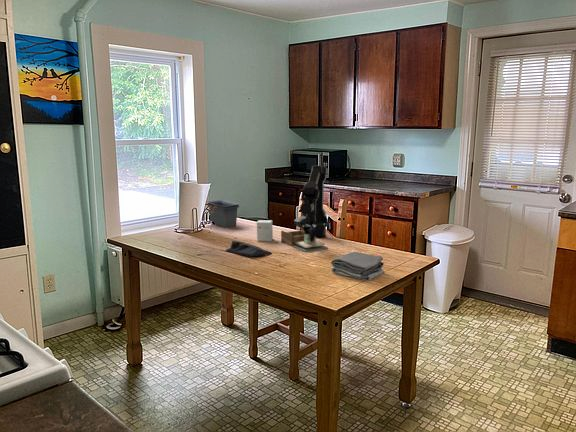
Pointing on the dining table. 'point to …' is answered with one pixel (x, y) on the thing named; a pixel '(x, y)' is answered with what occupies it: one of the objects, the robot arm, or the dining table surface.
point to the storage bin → (223, 212)
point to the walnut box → (292, 237)
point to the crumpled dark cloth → (247, 249)
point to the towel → (358, 265)
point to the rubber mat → (309, 248)
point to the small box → (264, 230)
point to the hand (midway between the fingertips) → (309, 240)
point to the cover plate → (309, 242)
